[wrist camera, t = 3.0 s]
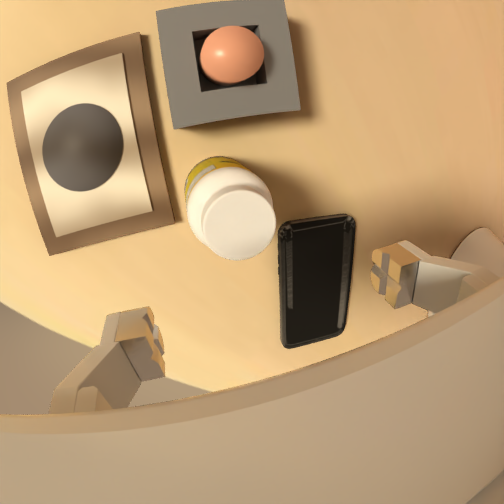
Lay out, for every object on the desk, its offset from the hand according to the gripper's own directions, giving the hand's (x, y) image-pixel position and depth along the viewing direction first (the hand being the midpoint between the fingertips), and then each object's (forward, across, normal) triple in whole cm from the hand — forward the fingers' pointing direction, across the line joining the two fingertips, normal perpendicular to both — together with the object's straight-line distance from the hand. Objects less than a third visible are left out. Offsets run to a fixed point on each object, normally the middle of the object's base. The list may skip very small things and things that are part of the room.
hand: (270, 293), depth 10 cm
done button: (+14, -2, -10) cm, 18 cm away
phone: (+17, -8, +12) cm, 22 cm away
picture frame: (+16, +10, -6) cm, 20 cm away
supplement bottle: (+16, 0, 0) cm, 16 cm away
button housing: (+16, -2, -10) cm, 19 cm away
